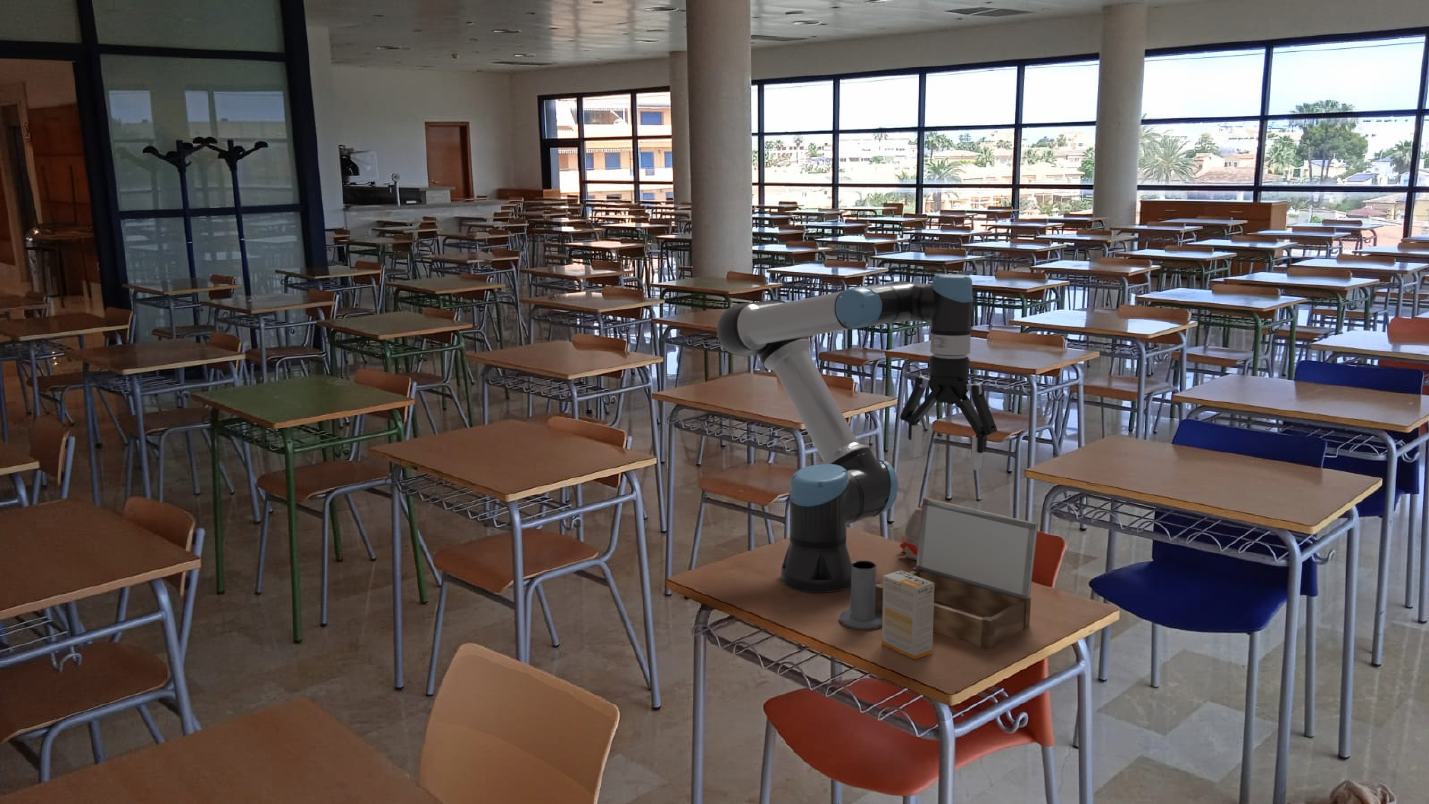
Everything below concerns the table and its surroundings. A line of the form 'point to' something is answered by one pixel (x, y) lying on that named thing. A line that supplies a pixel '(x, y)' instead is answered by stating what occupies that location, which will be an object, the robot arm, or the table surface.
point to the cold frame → (984, 632)
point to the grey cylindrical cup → (863, 590)
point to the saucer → (861, 625)
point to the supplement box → (908, 614)
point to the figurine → (912, 535)
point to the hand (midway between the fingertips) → (945, 462)
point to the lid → (977, 547)
